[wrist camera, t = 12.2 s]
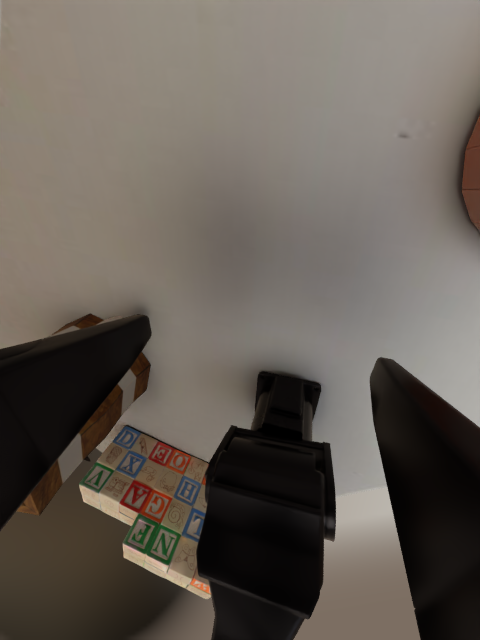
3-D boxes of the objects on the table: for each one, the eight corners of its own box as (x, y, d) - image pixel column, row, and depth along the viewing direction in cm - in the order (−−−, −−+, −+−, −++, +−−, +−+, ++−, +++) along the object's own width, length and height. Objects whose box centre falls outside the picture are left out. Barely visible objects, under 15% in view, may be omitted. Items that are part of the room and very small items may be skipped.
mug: (127, 407, 36) (26, 524, 24) (54, 349, 34) (-98, 442, 22) (196, 342, 26) (84, 487, 13) (99, 254, 24) (-142, 326, 11)
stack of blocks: (125, 443, 42) (63, 526, 32) (125, 423, 39) (56, 509, 28) (235, 496, 40) (206, 602, 30) (245, 480, 37) (217, 594, 26)
